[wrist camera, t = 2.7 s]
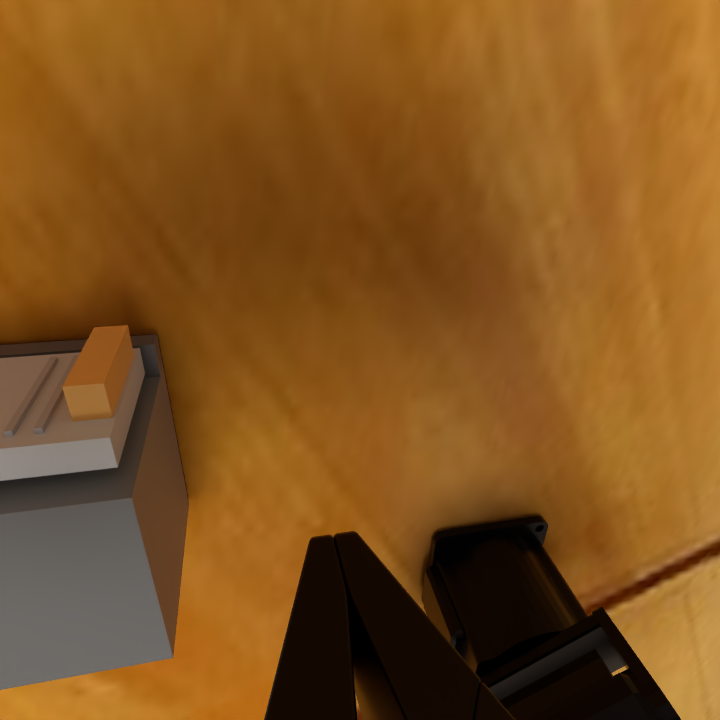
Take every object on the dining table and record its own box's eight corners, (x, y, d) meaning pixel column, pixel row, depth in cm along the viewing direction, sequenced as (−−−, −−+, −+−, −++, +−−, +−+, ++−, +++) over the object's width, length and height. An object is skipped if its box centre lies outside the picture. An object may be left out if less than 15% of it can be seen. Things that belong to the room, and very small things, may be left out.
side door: (133, 318, 17) (100, 401, 13) (145, 373, 18) (118, 467, 14) (-75, 331, 16) (-187, 428, 12) (-50, 389, 17) (-145, 497, 13)
